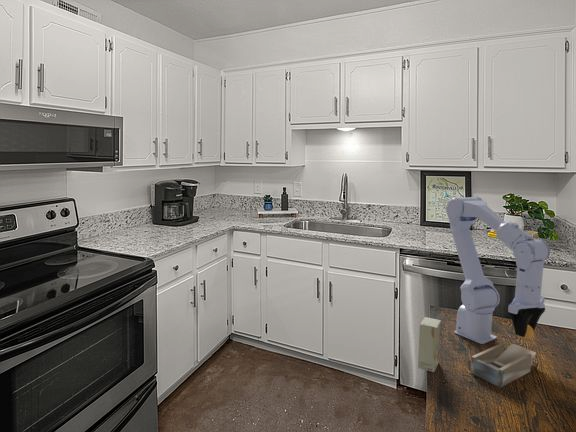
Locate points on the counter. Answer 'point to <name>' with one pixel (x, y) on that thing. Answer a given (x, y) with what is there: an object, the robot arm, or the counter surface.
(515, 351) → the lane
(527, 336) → the ball
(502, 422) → the counter surface
